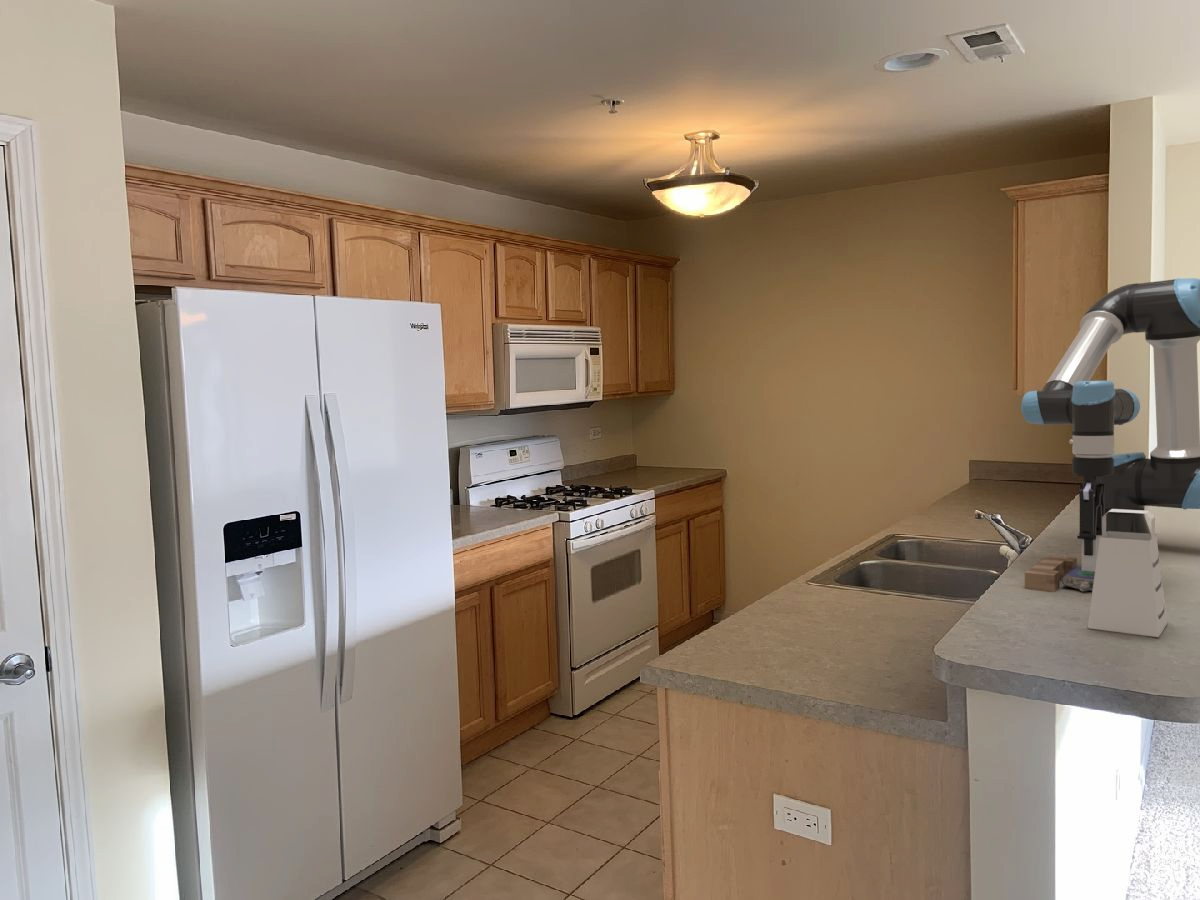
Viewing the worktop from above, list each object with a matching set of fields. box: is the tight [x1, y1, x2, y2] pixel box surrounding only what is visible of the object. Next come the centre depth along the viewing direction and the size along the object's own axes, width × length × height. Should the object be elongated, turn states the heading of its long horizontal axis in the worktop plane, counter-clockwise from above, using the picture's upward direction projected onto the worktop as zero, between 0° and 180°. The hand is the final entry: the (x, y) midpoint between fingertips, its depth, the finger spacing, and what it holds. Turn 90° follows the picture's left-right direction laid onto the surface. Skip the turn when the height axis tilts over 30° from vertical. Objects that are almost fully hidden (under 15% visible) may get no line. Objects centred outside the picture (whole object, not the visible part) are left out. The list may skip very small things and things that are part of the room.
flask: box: [1060, 565, 1095, 592], centre depth 181 cm, size 9×3×11 cm
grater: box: [1087, 509, 1168, 638], centre depth 153 cm, size 10×10×20 cm
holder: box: [1024, 555, 1078, 593], centre depth 184 cm, size 21×21×4 cm
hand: (1092, 568), depth 183 cm, fingers closed on flask, 5 cm apart
